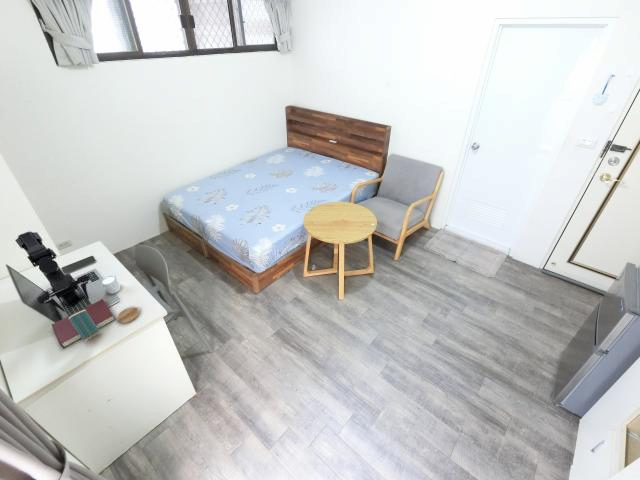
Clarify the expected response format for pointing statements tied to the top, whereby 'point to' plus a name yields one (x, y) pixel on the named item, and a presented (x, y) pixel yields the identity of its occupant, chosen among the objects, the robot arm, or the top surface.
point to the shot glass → (111, 284)
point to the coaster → (128, 315)
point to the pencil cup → (84, 325)
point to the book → (68, 332)
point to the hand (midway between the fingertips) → (76, 305)
